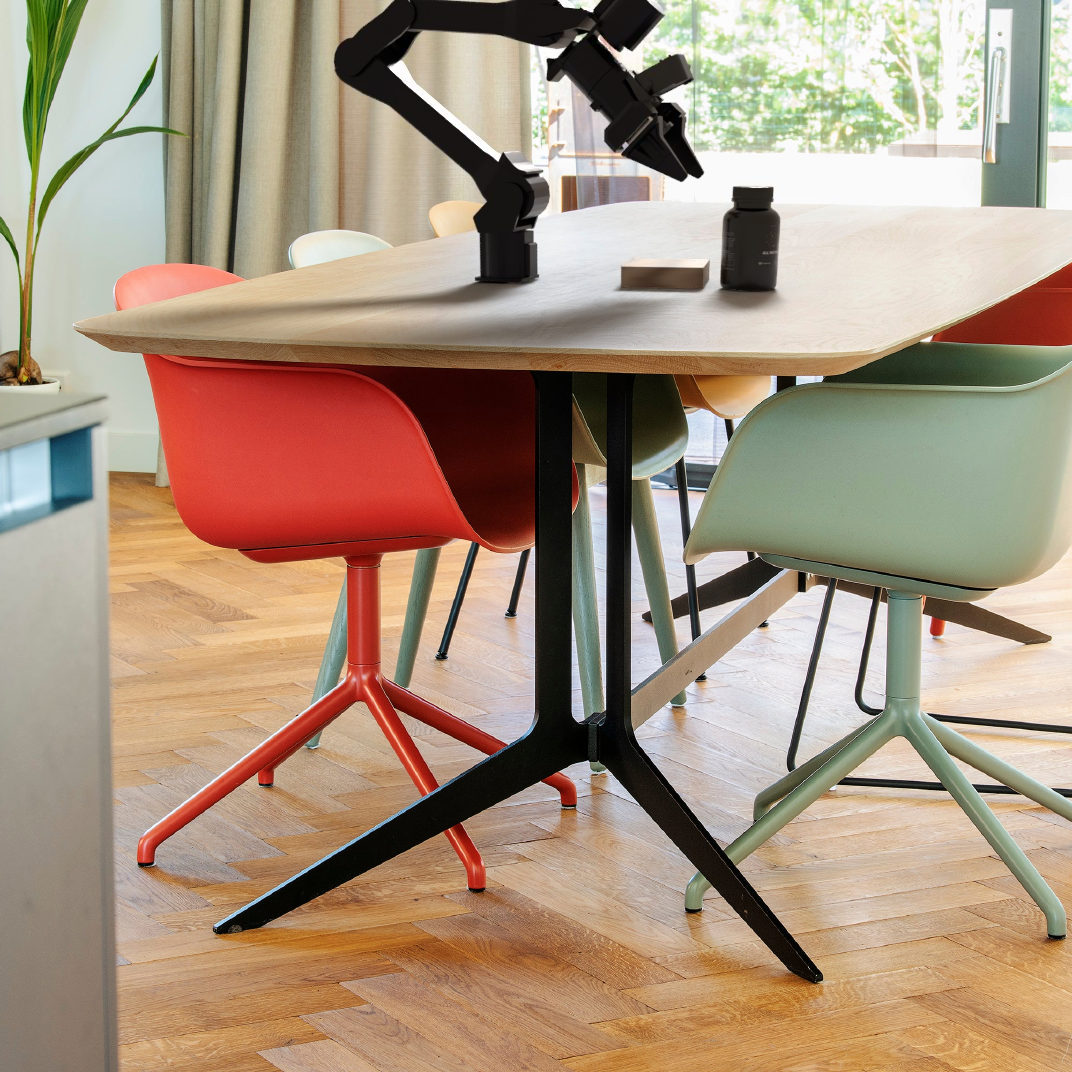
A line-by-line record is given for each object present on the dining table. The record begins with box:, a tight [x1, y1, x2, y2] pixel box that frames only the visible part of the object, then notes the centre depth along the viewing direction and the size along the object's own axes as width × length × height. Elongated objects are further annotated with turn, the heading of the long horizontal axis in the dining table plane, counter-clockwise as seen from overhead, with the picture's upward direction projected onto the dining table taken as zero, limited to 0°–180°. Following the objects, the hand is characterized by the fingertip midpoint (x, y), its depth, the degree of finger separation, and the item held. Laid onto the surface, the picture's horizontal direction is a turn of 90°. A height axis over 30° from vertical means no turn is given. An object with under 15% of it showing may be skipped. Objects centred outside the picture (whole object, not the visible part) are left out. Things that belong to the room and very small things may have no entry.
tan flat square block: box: [620, 257, 711, 290], centre depth 163 cm, size 10×10×2 cm
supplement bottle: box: [719, 185, 781, 292], centre depth 155 cm, size 7×7×12 cm
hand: (693, 177), depth 156 cm, fingers open, 9 cm apart
